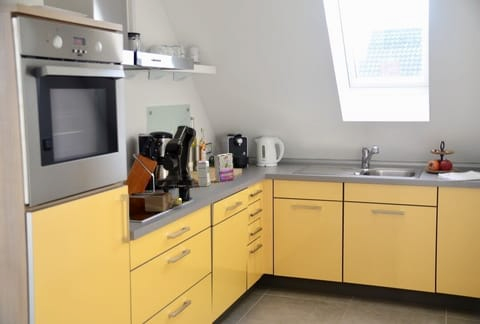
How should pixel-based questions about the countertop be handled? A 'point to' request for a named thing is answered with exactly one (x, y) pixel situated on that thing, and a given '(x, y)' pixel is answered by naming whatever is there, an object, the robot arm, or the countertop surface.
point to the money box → (158, 202)
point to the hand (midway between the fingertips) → (176, 199)
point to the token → (176, 201)
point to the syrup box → (203, 173)
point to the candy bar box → (224, 167)
